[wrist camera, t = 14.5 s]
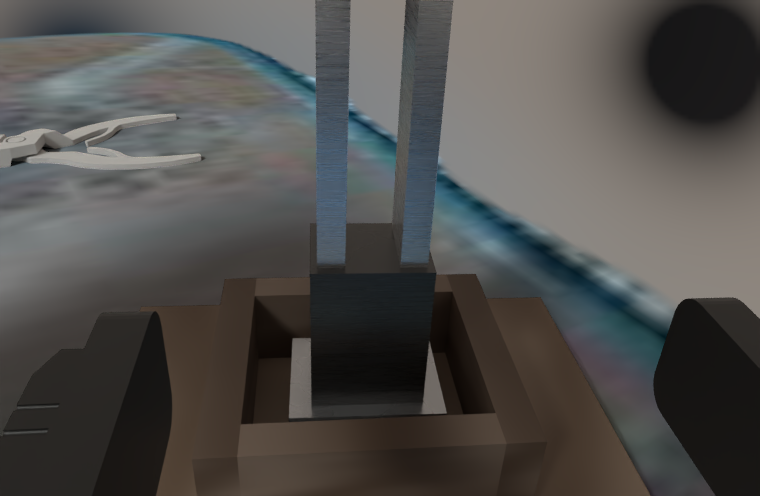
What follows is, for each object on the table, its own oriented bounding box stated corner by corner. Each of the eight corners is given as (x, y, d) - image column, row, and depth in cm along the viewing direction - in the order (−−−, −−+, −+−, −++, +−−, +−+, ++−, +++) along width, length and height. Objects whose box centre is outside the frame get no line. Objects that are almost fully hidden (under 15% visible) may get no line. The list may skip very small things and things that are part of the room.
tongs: (290, 463, 21) (267, -173, 13) (293, 380, 25) (277, -165, 16) (441, 457, 22) (521, -159, 13) (424, 377, 25) (478, -154, 16)
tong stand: (32, 652, 17) (-7, 555, 15) (144, 325, 29) (130, 247, 27) (687, 600, 19) (730, 508, 17) (536, 314, 31) (551, 241, 29)
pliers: (200, 145, 44) (-57, 175, 38) (202, 166, 45) (-49, 199, 39) (173, 102, 52) (-45, 121, 46) (175, 121, 53) (-39, 143, 47)
